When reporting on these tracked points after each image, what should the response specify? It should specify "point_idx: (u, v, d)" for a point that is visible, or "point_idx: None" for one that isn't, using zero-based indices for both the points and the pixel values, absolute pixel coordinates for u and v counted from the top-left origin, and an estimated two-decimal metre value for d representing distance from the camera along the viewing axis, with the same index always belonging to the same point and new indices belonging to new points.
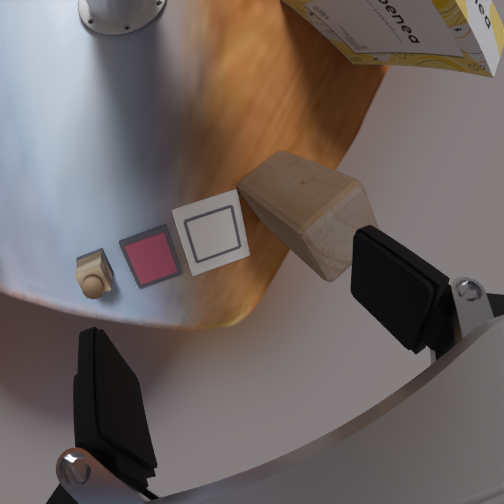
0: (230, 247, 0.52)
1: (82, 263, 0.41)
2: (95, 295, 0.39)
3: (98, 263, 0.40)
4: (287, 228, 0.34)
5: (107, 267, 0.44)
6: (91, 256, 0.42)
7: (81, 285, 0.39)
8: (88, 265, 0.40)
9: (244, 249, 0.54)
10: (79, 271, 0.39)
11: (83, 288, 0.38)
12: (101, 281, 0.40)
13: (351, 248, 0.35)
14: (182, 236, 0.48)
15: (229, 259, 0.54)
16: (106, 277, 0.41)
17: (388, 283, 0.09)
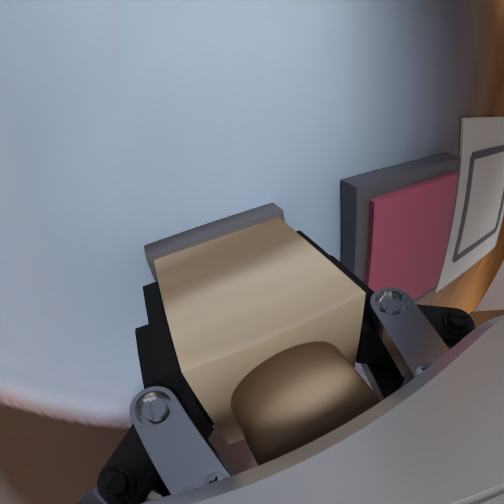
0: (490, 229, 0.20)
1: (195, 275, 0.08)
2: None
3: (336, 275, 0.07)
4: None
5: None
6: (232, 239, 0.09)
7: (216, 408, 0.07)
8: (257, 291, 0.07)
9: (496, 235, 0.21)
10: (205, 331, 0.06)
11: (273, 451, 0.05)
12: None
13: None
14: (460, 193, 0.15)
15: (480, 253, 0.21)
16: None
17: None
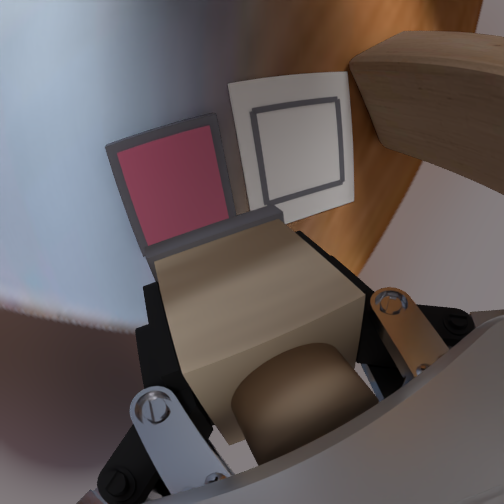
0: (327, 180, 0.27)
1: (195, 276, 0.08)
2: None
3: (336, 277, 0.07)
4: None
5: None
6: (232, 241, 0.10)
7: (216, 409, 0.07)
8: (257, 292, 0.07)
9: (347, 188, 0.28)
10: (206, 333, 0.06)
11: (273, 452, 0.05)
12: None
13: None
14: (244, 143, 0.22)
15: (322, 204, 0.28)
16: None
17: None
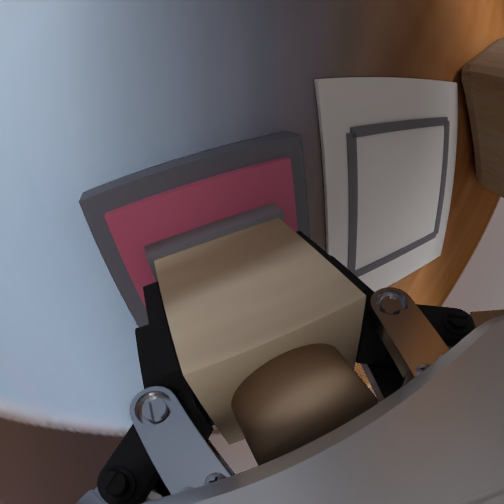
0: (422, 234, 0.17)
1: (195, 276, 0.08)
2: None
3: (336, 277, 0.07)
4: None
5: None
6: (232, 240, 0.09)
7: (217, 409, 0.07)
8: (258, 293, 0.07)
9: (438, 240, 0.19)
10: (206, 334, 0.06)
11: (273, 452, 0.05)
12: None
13: None
14: (334, 187, 0.13)
15: (411, 266, 0.19)
16: None
17: None
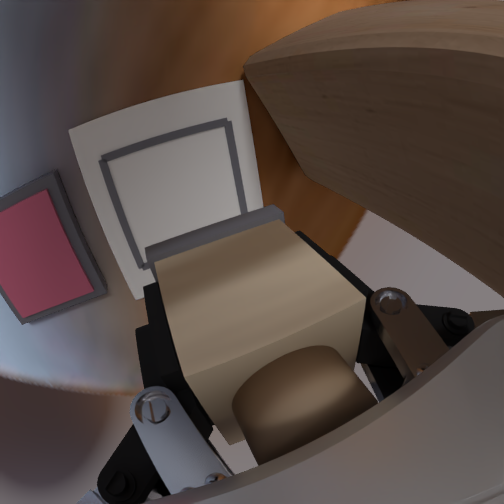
0: None
1: (196, 278, 0.08)
2: None
3: (337, 279, 0.07)
4: None
5: None
6: (232, 242, 0.10)
7: (217, 411, 0.07)
8: (258, 295, 0.07)
9: None
10: (207, 336, 0.06)
11: (274, 453, 0.05)
12: None
13: None
14: (98, 200, 0.17)
15: None
16: None
17: None
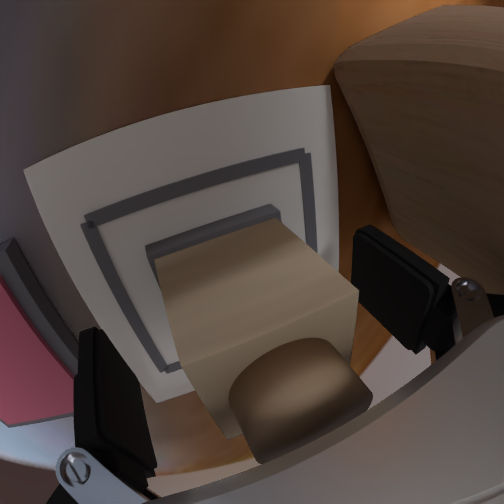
0: None
1: (194, 273, 0.08)
2: None
3: (330, 273, 0.08)
4: None
5: None
6: (230, 239, 0.10)
7: (214, 403, 0.07)
8: (254, 289, 0.08)
9: None
10: (204, 327, 0.07)
11: (269, 443, 0.05)
12: None
13: None
14: (89, 288, 0.10)
15: None
16: None
17: (388, 283, 0.09)
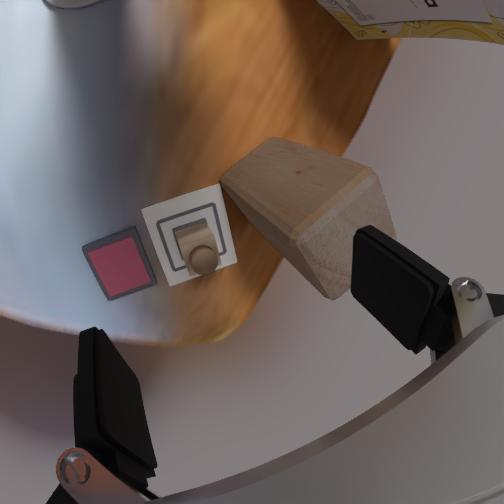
0: None
1: (183, 234, 0.38)
2: (207, 270, 0.36)
3: (210, 233, 0.37)
4: (277, 231, 0.26)
5: None
6: (192, 227, 0.40)
7: (186, 259, 0.37)
8: (195, 236, 0.37)
9: (230, 255, 0.45)
10: (184, 242, 0.36)
11: (194, 261, 0.35)
12: None
13: None
14: (155, 240, 0.40)
15: None
16: None
17: (388, 283, 0.09)
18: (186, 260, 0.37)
